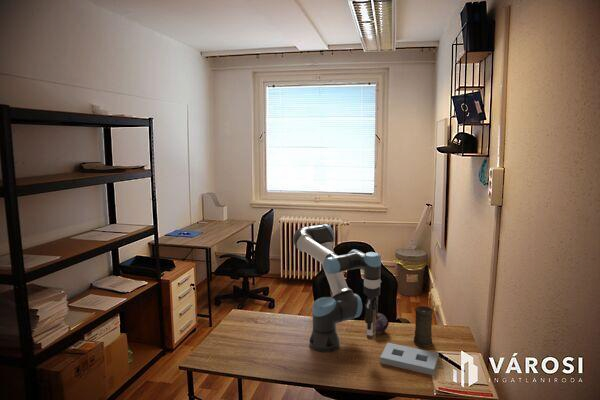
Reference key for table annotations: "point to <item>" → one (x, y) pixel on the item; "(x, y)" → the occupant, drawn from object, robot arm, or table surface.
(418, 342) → the container
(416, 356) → the board
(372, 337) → the walnut peg
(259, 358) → the table surface
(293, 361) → the table surface
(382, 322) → the rock
